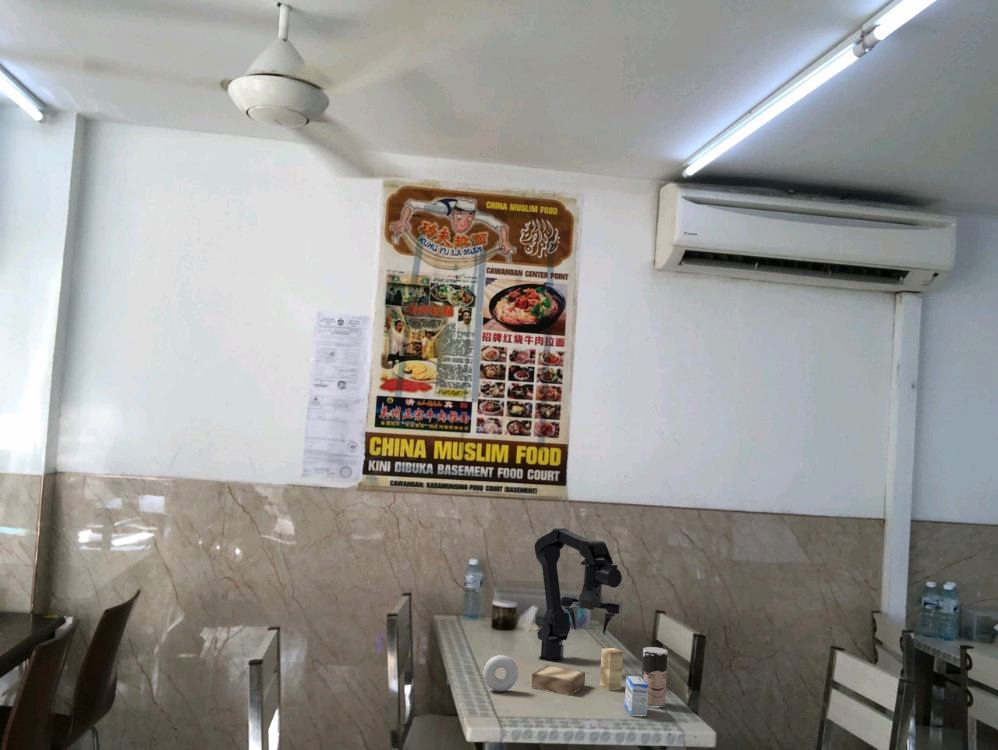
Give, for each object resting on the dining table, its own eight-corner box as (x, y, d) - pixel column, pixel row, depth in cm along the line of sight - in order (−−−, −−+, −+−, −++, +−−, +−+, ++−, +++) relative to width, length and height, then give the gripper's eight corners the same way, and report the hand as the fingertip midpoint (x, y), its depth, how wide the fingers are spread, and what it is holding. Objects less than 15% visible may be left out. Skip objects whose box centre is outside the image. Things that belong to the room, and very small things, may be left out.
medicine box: (624, 707, 238) (625, 675, 239) (639, 708, 238) (641, 676, 239) (630, 716, 230) (632, 683, 231) (647, 717, 230) (649, 684, 231)
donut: (516, 690, 247) (518, 654, 248) (517, 693, 244) (520, 657, 245) (481, 688, 246) (483, 653, 247) (482, 692, 243) (484, 656, 244)
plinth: (531, 687, 251) (532, 673, 251) (547, 678, 261) (547, 664, 262) (570, 695, 246) (571, 681, 246) (584, 685, 256) (585, 671, 257)
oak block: (599, 686, 257) (601, 648, 258) (612, 685, 259) (614, 647, 260) (608, 690, 253) (610, 652, 254) (621, 689, 255) (623, 651, 256)
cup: (638, 705, 240) (641, 650, 241) (642, 699, 247) (645, 645, 248) (663, 709, 238) (666, 654, 239) (666, 703, 244) (668, 649, 246)
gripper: (557, 581, 267) (553, 632, 266) (616, 589, 261) (613, 641, 260) (566, 576, 278) (563, 625, 277) (624, 584, 271) (621, 634, 270)
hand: (589, 631), depth 271 cm, fingers open, 9 cm apart
